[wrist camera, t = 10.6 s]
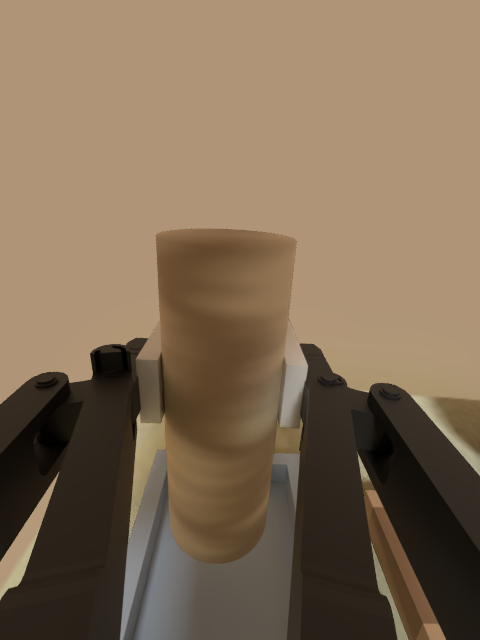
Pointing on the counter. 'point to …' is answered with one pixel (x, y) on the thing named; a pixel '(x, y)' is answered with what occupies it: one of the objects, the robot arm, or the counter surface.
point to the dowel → (221, 381)
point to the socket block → (400, 574)
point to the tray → (209, 571)
